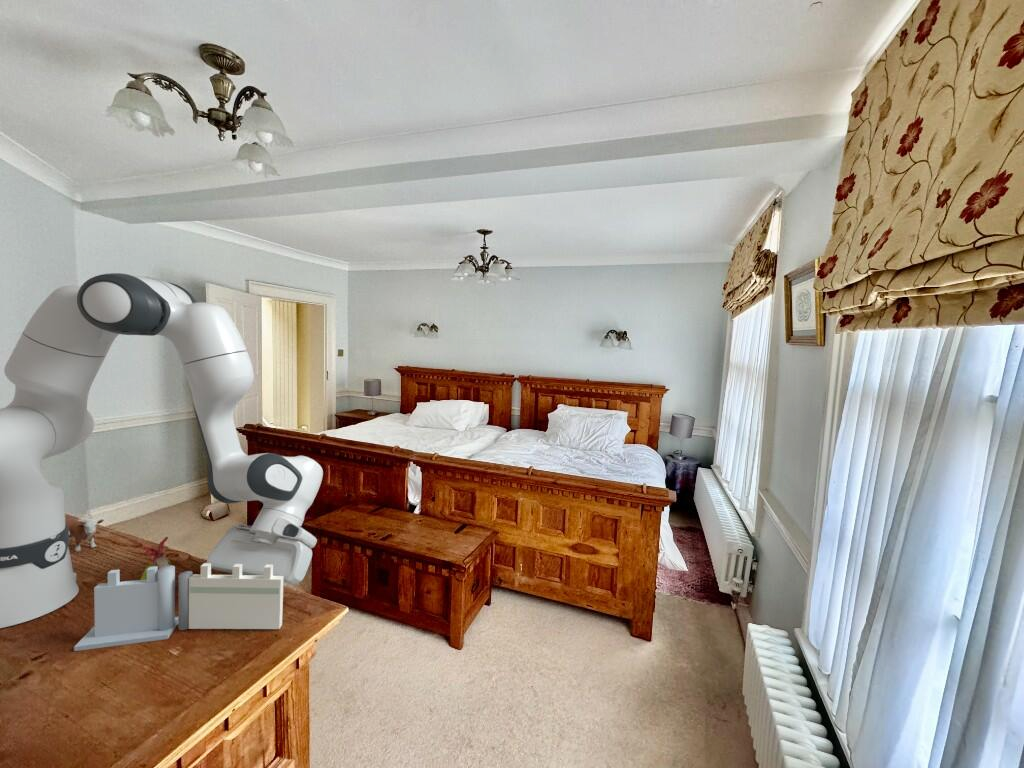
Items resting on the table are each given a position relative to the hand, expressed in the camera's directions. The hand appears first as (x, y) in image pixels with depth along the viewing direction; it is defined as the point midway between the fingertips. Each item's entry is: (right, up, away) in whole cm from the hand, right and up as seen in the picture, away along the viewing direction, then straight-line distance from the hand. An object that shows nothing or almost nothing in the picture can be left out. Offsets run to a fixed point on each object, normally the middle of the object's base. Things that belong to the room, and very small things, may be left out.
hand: (237, 601), depth 78 cm
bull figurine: (-53, +2, +20) cm, 57 cm away
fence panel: (0, -4, -1) cm, 4 cm away
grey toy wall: (-16, -3, -5) cm, 17 cm away
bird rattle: (-22, -2, +9) cm, 24 cm away
